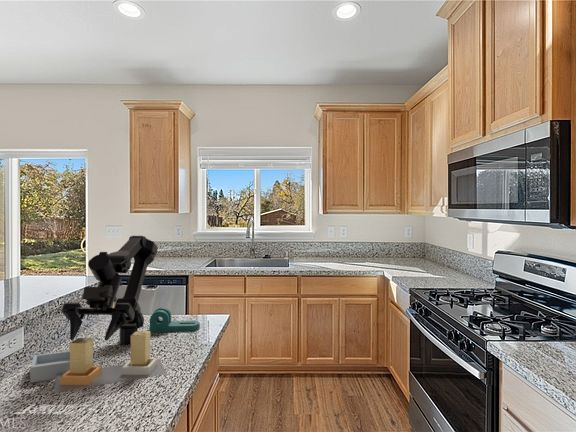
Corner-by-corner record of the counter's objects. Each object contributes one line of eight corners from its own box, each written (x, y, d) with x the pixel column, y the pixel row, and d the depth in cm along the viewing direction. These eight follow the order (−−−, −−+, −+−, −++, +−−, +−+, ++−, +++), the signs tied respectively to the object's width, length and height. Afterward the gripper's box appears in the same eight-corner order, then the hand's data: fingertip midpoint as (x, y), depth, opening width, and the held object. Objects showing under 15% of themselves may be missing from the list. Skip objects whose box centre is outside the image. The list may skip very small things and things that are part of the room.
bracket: (149, 332, 150) (149, 311, 150) (153, 327, 157) (153, 307, 157) (199, 331, 153) (199, 310, 153) (200, 326, 160) (200, 306, 160)
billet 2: (135, 366, 113) (136, 331, 113) (150, 366, 114) (150, 331, 113) (130, 372, 109) (130, 335, 109) (145, 372, 110) (145, 335, 109)
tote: (34, 369, 115) (34, 355, 115) (74, 363, 119) (74, 350, 119) (30, 382, 106) (30, 367, 106) (73, 376, 110) (73, 361, 110)
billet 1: (77, 375, 107) (78, 338, 107) (92, 375, 107) (93, 338, 107) (69, 382, 103) (69, 343, 103) (85, 382, 103) (85, 343, 103)
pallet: (56, 380, 108) (56, 367, 108) (159, 363, 120) (159, 352, 120) (53, 399, 97) (53, 384, 97) (166, 379, 109) (166, 366, 109)
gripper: (64, 274, 113) (40, 324, 103) (131, 274, 114) (114, 325, 103) (79, 295, 122) (58, 344, 111) (141, 296, 122) (126, 345, 111)
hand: (88, 339), depth 109 cm, fingers open, 9 cm apart
